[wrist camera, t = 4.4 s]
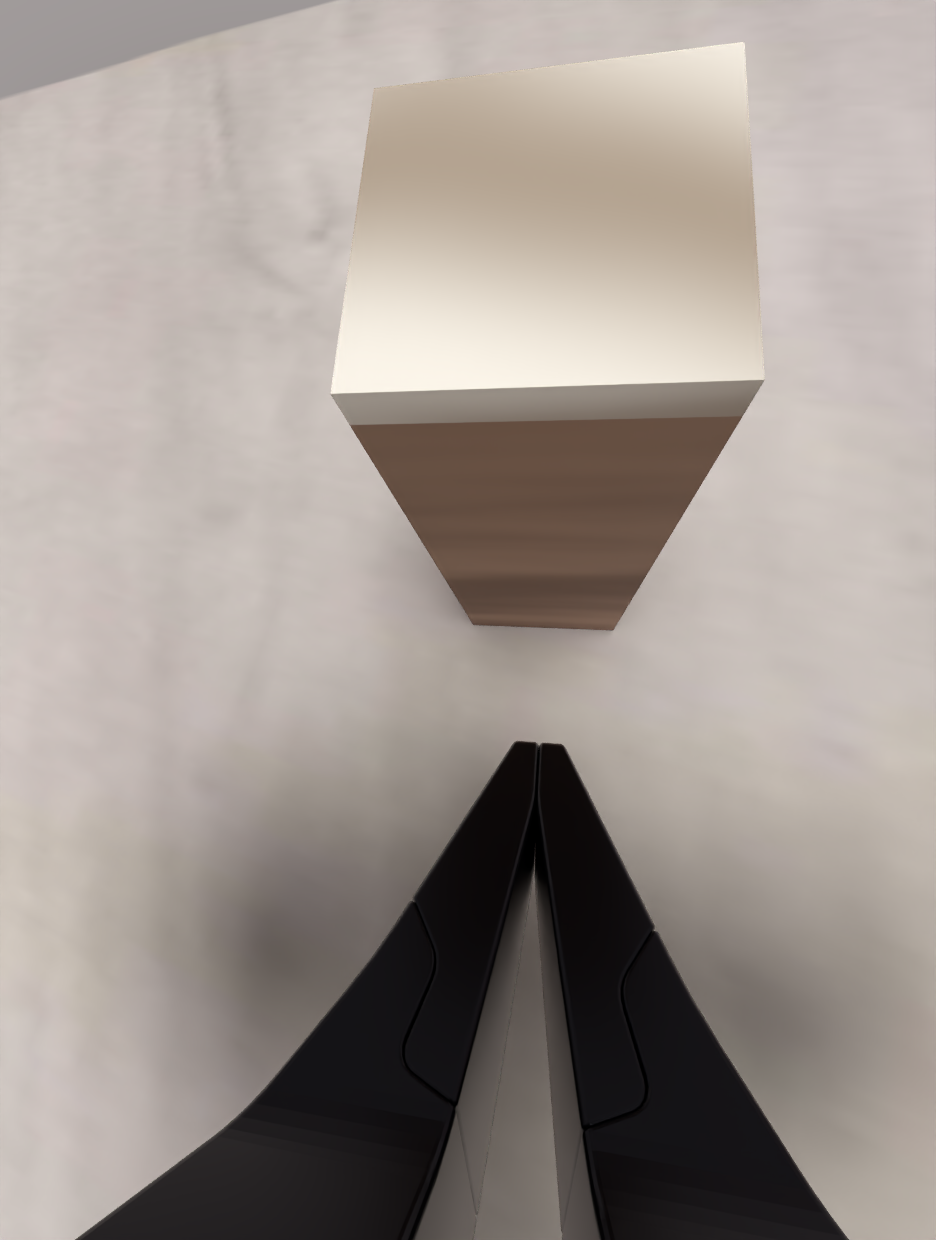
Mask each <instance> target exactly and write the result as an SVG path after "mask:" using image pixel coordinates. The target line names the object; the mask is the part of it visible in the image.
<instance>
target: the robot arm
mask: <svg viewBox="0 0 936 1240" xmlns="http://www.w3.org/2000/svg"><path fill="white" fill-rule="evenodd" d="M534 861H535V890H536V904H537V917H538V930H539V943H540V957H541V970H542V983H543V996H544V1009H545V1023H546V1036H547V1049H548V1062H549V1076H550V1089H551V1102H552V1115H553V1129H554V1142H555V1155H556V1168H557V1182H558V1195H559V1208H560V1221H561V1231H562V1233H563V1235H562V1240H849V1239H848V1238H847V1237H846V1235H845V1234H844V1233H843V1231H842V1230H841V1229H840V1227H839V1226H838V1225H837V1223H836V1222H835V1221H834V1219H833V1218H832V1217H831V1215H830V1214H829V1213H828V1211H827V1210H826V1208H825V1207H824V1205H823V1204H822V1203H821V1201H820V1200H819V1198H818V1197H817V1195H816V1194H815V1193H814V1191H813V1190H812V1188H811V1187H810V1185H809V1184H808V1182H807V1180H806V1179H805V1177H804V1176H803V1174H802V1173H801V1171H800V1170H799V1168H798V1167H797V1165H796V1164H795V1162H794V1160H793V1159H792V1157H791V1156H790V1154H789V1152H788V1151H787V1149H786V1148H785V1146H784V1145H783V1143H782V1141H781V1140H780V1138H779V1137H778V1135H777V1133H776V1132H775V1130H774V1129H773V1127H772V1126H771V1124H770V1122H769V1121H768V1119H767V1118H766V1116H765V1114H764V1113H763V1111H762V1110H761V1108H760V1107H759V1105H758V1103H757V1102H756V1100H755V1099H754V1097H753V1096H752V1094H751V1092H750V1091H749V1089H748V1088H747V1086H746V1084H745V1083H744V1081H743V1080H742V1078H741V1077H740V1075H739V1073H738V1072H737V1070H736V1069H735V1067H734V1065H733V1064H732V1062H731V1061H730V1059H729V1058H728V1056H727V1054H726V1053H725V1051H724V1050H723V1048H722V1046H721V1045H720V1043H719V1041H718V1040H717V1038H716V1036H715V1035H714V1033H713V1031H712V1030H711V1028H710V1026H709V1025H708V1023H707V1021H706V1020H705V1018H704V1016H703V1015H702V1013H701V1011H700V1010H699V1008H698V1006H697V1005H696V1003H695V1001H694V1000H693V998H692V996H691V994H690V992H689V991H688V989H687V987H686V985H685V983H684V981H683V979H682V977H681V976H680V974H679V972H678V970H677V968H676V966H675V964H674V963H673V961H672V959H671V957H670V955H669V953H668V951H667V949H666V947H665V945H664V943H663V941H662V939H661V937H660V935H659V933H658V932H657V931H654V929H655V926H654V923H653V921H652V919H651V917H650V915H649V914H648V912H647V910H646V908H645V906H644V904H643V902H642V900H641V898H640V896H639V894H638V892H637V890H636V888H635V886H634V884H633V882H632V880H631V878H630V876H629V874H628V872H627V870H626V868H625V866H624V864H623V862H622V860H621V858H620V856H619V854H618V852H617V850H616V848H615V846H614V844H613V842H612V840H611V838H610V836H609V834H608V832H607V830H606V828H605V826H604V824H603V822H602V820H601V818H600V816H599V814H598V812H597V810H596V808H595V806H594V804H593V802H592V800H591V798H590V796H589V794H588V792H587V790H586V788H585V786H584V784H583V782H582V780H581V778H580V776H579V774H578V772H577V770H576V768H575V766H574V764H573V762H572V760H571V758H570V756H569V754H568V752H567V750H566V748H565V747H564V746H563V745H562V744H552V743H541V744H540V746H539V745H538V744H537V743H536V742H524V741H516V742H514V743H513V745H512V746H511V748H510V749H509V751H508V752H507V754H506V755H505V757H504V758H503V760H502V761H501V763H500V764H499V766H498V768H497V769H496V771H495V772H494V774H493V775H492V777H491V778H490V780H489V781H488V783H487V784H486V786H485V787H484V789H483V791H482V792H481V794H480V795H479V797H478V798H477V800H476V801H475V803H474V804H473V806H472V807H471V809H470V810H469V812H468V814H467V815H466V817H465V818H464V820H463V821H462V823H461V824H460V826H459V827H458V829H457V830H456V832H455V833H454V835H453V837H452V838H451V840H450V841H449V843H448V844H447V846H446V847H445V849H444V850H443V852H442V853H441V855H440V856H439V858H438V860H437V861H436V863H435V864H434V866H433V867H432V869H431V870H430V872H429V873H428V875H427V876H426V878H425V879H424V881H423V883H422V884H421V886H420V887H419V889H418V890H417V892H416V893H415V895H414V896H413V901H414V902H413V901H410V902H409V904H408V905H407V907H406V908H405V910H404V911H403V913H402V914H401V916H400V917H399V919H398V920H397V922H396V924H395V925H394V926H393V928H392V929H391V931H390V932H389V934H388V935H387V936H386V938H385V939H384V941H383V942H382V944H381V945H380V946H379V948H378V949H377V951H376V952H375V954H374V955H373V956H372V958H371V959H370V960H369V961H368V963H367V964H366V965H365V967H364V968H363V969H362V970H361V972H360V973H359V974H358V976H357V977H356V978H355V979H354V981H353V982H352V983H351V985H350V986H349V987H348V988H347V990H346V991H345V992H344V993H343V994H342V996H341V997H340V998H339V999H338V1001H337V1002H336V1003H335V1004H334V1005H333V1007H332V1008H331V1009H330V1010H329V1011H328V1013H327V1014H326V1015H325V1016H324V1018H323V1019H322V1020H321V1021H320V1022H319V1024H318V1025H317V1026H316V1027H315V1028H314V1030H313V1031H312V1032H311V1033H310V1035H309V1036H308V1037H307V1038H306V1039H305V1041H304V1042H303V1043H302V1044H301V1045H300V1047H299V1048H298V1049H297V1050H296V1052H295V1053H294V1054H293V1055H292V1056H291V1058H290V1059H289V1060H288V1061H287V1062H286V1064H285V1065H284V1066H283V1067H282V1069H281V1070H280V1071H279V1072H278V1073H277V1075H276V1076H275V1077H274V1078H273V1079H272V1080H271V1082H270V1083H269V1084H268V1085H267V1086H266V1087H265V1089H264V1090H263V1091H262V1092H261V1093H260V1094H259V1095H258V1096H257V1097H256V1098H255V1099H254V1100H253V1101H252V1102H251V1103H250V1104H249V1105H248V1106H247V1107H246V1108H245V1109H244V1110H243V1111H242V1112H241V1113H240V1114H239V1115H238V1116H237V1117H236V1118H235V1119H234V1120H232V1121H231V1122H230V1123H229V1124H228V1125H227V1126H226V1127H224V1128H223V1129H222V1130H221V1131H219V1132H218V1133H217V1134H216V1135H214V1136H213V1137H212V1138H210V1139H209V1140H208V1141H206V1142H205V1143H204V1144H202V1145H201V1146H200V1147H198V1148H197V1149H196V1150H194V1151H193V1152H192V1153H190V1154H189V1155H188V1156H186V1157H185V1158H184V1159H182V1160H181V1161H180V1162H178V1163H177V1164H176V1165H174V1166H173V1167H172V1168H170V1169H169V1170H168V1171H166V1172H165V1173H164V1174H162V1175H161V1176H160V1177H158V1178H157V1179H156V1180H154V1181H153V1182H152V1183H150V1184H149V1185H148V1186H146V1187H145V1188H144V1189H142V1190H141V1191H140V1192H138V1193H137V1194H136V1195H134V1196H133V1197H132V1198H130V1199H129V1200H128V1201H126V1202H125V1203H124V1204H122V1205H121V1206H120V1207H118V1208H117V1209H116V1210H114V1211H113V1212H111V1213H110V1214H109V1215H107V1216H106V1217H105V1218H103V1219H102V1220H101V1221H99V1222H98V1223H97V1224H95V1225H94V1226H93V1227H91V1228H90V1229H89V1230H87V1231H86V1232H85V1233H83V1234H82V1235H81V1236H79V1237H78V1238H77V1239H75V1240H473V1239H474V1233H475V1227H476V1215H477V1213H478V1208H479V1202H480V1196H481V1190H482V1184H483V1178H484V1172H485V1166H486V1160H487V1154H488V1148H489V1142H490V1136H491V1130H492V1124H493V1118H494V1112H495V1106H496V1100H497V1094H498V1088H499V1082H500V1076H501V1070H502V1064H503V1058H504V1052H505V1046H506V1039H507V1033H508V1027H509V1021H510V1015H511V1009H512V1003H513V997H514V991H515V985H516V979H517V973H518V967H519V961H520V955H521V949H522V943H523V937H524V931H525V925H526V919H527V913H528V907H529V901H530V895H531V889H532V881H533V874H534Z"/></svg>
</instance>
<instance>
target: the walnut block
mask: <svg viewBox="0 0 936 1240" xmlns="http://www.w3.org/2000/svg"><path fill="white" fill-rule="evenodd" d="M764 380H765V378H764V361H763V344H762V327H761V311H760V294H759V277H758V261H757V244H756V227H755V211H754V194H753V177H752V161H751V144H750V127H749V110H748V94H747V77H746V60H745V44H744V42H740V43H732V44H724V45H716V46H708V47H700V48H692V49H684V50H676V51H668V52H660V53H652V54H644V55H636V56H628V57H620V58H612V59H604V60H596V61H588V62H580V63H572V64H564V65H556V66H548V67H540V68H532V69H524V70H516V71H509V72H501V73H493V74H485V75H477V76H469V77H461V78H453V79H445V80H437V81H429V82H421V83H413V84H405V85H397V86H389V87H381V88H374V92H373V99H372V106H371V113H370V120H369V127H368V134H367V141H366V148H365V155H364V162H363V169H362V176H361V183H360V190H359V197H358V204H357V211H356V218H355V225H354V232H353V239H352V246H351V253H350V260H349V267H348V274H347V281H346V288H345V295H344V302H343V309H342V316H341V323H340V330H339V337H338V344H337V351H336V358H335V365H334V372H333V379H332V386H331V393H330V394H331V395H332V397H333V399H334V400H335V402H336V404H337V405H338V407H339V408H340V410H341V412H342V413H343V415H344V416H345V418H346V420H347V421H348V423H349V425H350V426H351V428H352V429H353V431H354V433H355V434H356V436H357V438H358V439H359V441H360V442H361V444H362V446H363V447H364V449H365V450H366V452H367V454H368V455H369V457H370V459H371V460H372V462H373V463H374V465H375V467H376V468H377V470H378V471H379V473H380V475H381V476H382V478H383V480H384V481H385V483H386V484H387V486H388V488H389V489H390V491H391V492H392V494H393V496H394V497H395V499H396V501H397V502H398V504H399V505H400V507H401V509H402V510H403V512H404V513H405V515H406V517H407V518H408V520H409V522H410V523H411V525H412V526H413V528H414V530H415V531H416V533H417V534H418V536H419V538H420V539H421V541H422V543H423V544H424V546H425V547H426V549H427V551H428V552H429V554H430V555H431V557H432V559H433V560H434V562H435V564H436V565H437V567H438V568H439V570H440V572H441V573H442V575H443V576H444V578H445V580H446V581H447V583H448V585H449V586H450V588H451V589H452V591H453V593H454V594H455V596H456V597H457V599H458V601H459V602H460V604H461V606H462V607H463V609H464V610H465V612H466V614H467V615H468V617H469V619H470V620H471V622H472V623H473V625H490V626H516V627H543V628H569V629H595V630H614V628H615V626H616V625H617V623H618V621H619V620H620V618H621V616H622V615H623V613H624V611H625V610H626V608H627V606H628V605H629V603H630V601H631V600H632V598H633V596H634V595H635V593H636V592H637V590H638V588H639V587H640V585H641V583H642V582H643V580H644V578H645V577H646V575H647V573H648V572H649V570H650V568H651V567H652V565H653V563H654V562H655V560H656V558H657V557H658V555H659V554H660V552H661V550H662V549H663V547H664V545H665V544H666V542H667V540H668V539H669V537H670V535H671V534H672V532H673V530H674V529H675V527H676V525H677V524H678V522H679V520H680V519H681V517H682V515H683V514H684V512H685V511H686V509H687V507H688V506H689V504H690V502H691V501H692V499H693V497H694V496H695V494H696V492H697V491H698V489H699V487H700V486H701V484H702V482H703V481H704V479H705V477H706V476H707V474H708V473H709V471H710V469H711V468H712V466H713V464H714V463H715V461H716V459H717V458H718V456H719V454H720V453H721V451H722V449H723V448H724V446H725V444H726V443H727V441H728V439H729V438H730V436H731V434H732V433H733V431H734V430H735V428H736V426H737V425H738V423H739V421H740V420H741V418H742V416H743V415H744V413H745V411H746V410H747V408H748V406H749V405H750V403H751V401H752V400H753V398H754V396H755V395H756V393H757V392H758V390H759V388H760V387H761V385H762V383H763V382H764Z"/></svg>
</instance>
